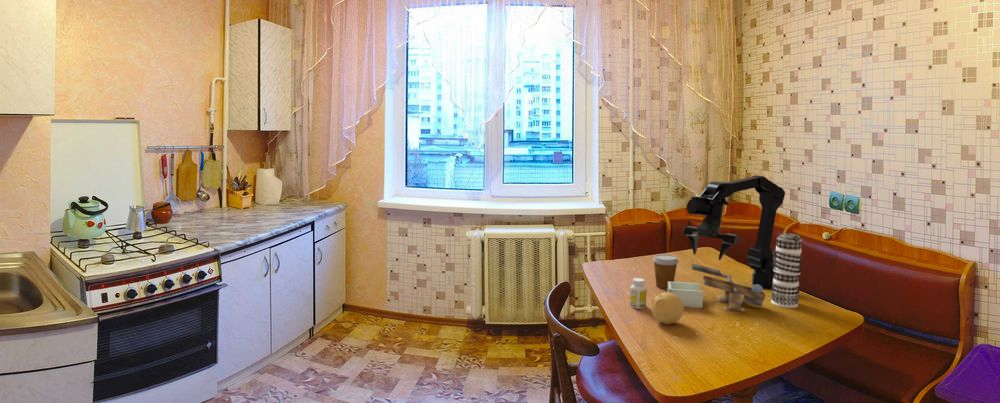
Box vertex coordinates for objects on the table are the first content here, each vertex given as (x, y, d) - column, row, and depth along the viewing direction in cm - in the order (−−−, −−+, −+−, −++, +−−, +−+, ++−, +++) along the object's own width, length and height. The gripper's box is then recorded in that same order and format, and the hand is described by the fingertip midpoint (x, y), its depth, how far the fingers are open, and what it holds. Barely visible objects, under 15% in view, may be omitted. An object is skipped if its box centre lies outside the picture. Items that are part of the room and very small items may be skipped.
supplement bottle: (646, 304, 178) (647, 278, 177) (645, 309, 173) (646, 282, 172) (630, 303, 180) (631, 276, 179) (629, 308, 175) (630, 281, 174)
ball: (758, 294, 175) (763, 285, 174) (760, 297, 171) (765, 289, 170) (748, 289, 175) (753, 281, 174) (750, 292, 172) (755, 284, 171)
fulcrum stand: (740, 298, 183) (741, 283, 182) (747, 311, 170) (748, 294, 169) (716, 297, 185) (717, 281, 184) (722, 309, 172) (723, 293, 172)
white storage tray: (699, 299, 183) (700, 283, 182) (702, 308, 174) (703, 291, 173) (667, 296, 186) (667, 281, 185) (668, 305, 177) (669, 289, 176)
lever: (751, 291, 187) (755, 279, 186) (763, 309, 169) (767, 296, 168) (688, 275, 192) (692, 263, 191) (693, 291, 174) (697, 278, 173)
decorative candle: (764, 299, 182) (768, 232, 178) (788, 298, 183) (793, 231, 179) (780, 308, 173) (785, 238, 169) (805, 307, 174) (811, 237, 170)
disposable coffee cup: (678, 291, 192) (680, 260, 191) (653, 289, 194) (654, 259, 192) (675, 283, 202) (676, 254, 200) (650, 282, 203) (651, 253, 202)
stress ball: (683, 323, 163) (666, 297, 169) (694, 309, 156) (676, 282, 162) (657, 332, 161) (641, 306, 166) (667, 318, 153) (650, 291, 159)
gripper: (680, 212, 185) (674, 253, 187) (732, 221, 173) (725, 265, 175) (691, 211, 194) (685, 250, 195) (742, 220, 181) (735, 262, 183)
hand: (706, 257), depth 187 cm, fingers open, 9 cm apart
